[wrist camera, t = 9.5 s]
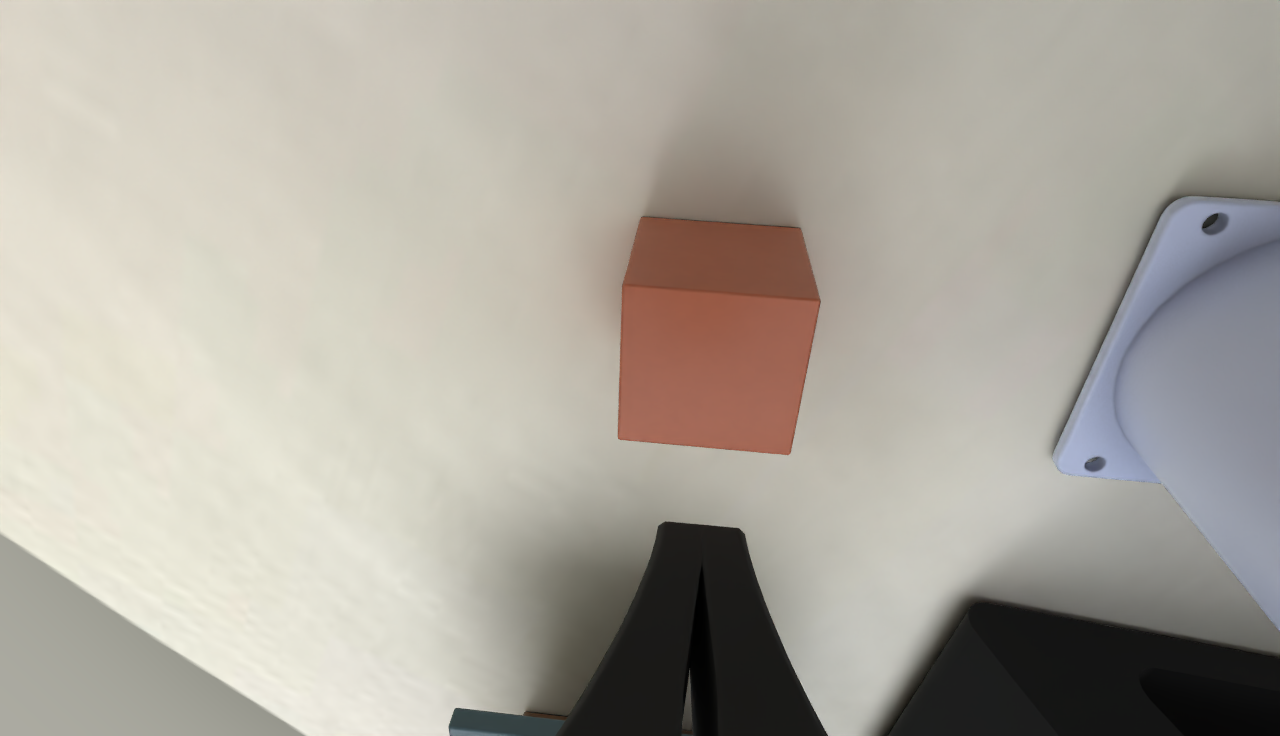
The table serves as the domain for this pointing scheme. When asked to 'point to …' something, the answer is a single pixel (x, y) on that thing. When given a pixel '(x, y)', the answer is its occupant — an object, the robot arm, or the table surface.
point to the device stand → (1087, 682)
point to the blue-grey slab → (501, 724)
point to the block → (715, 335)
